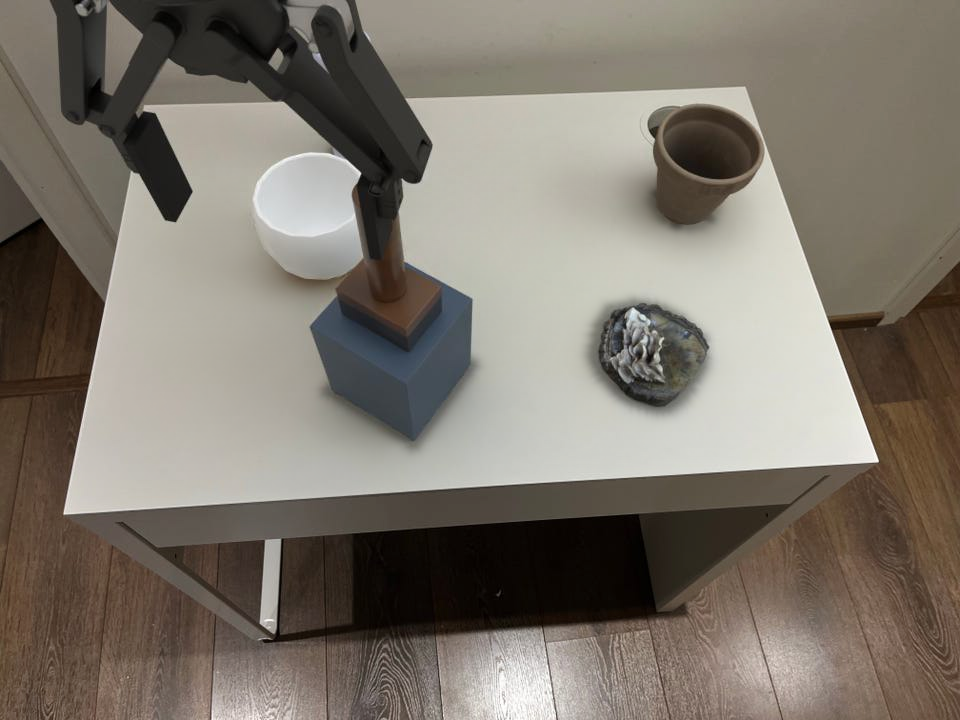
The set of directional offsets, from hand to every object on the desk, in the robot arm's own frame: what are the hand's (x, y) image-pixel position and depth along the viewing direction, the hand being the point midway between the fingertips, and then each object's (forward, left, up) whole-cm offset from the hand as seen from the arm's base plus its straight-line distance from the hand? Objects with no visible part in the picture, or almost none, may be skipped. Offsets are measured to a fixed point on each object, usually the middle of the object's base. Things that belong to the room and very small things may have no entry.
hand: (279, 224), depth 45 cm
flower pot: (-18, -43, -27) cm, 53 cm away
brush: (-3, -6, -15) cm, 16 cm away
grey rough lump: (-23, -22, -27) cm, 42 cm away
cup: (+13, -14, -27) cm, 33 cm away
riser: (-3, -6, -27) cm, 28 cm away
